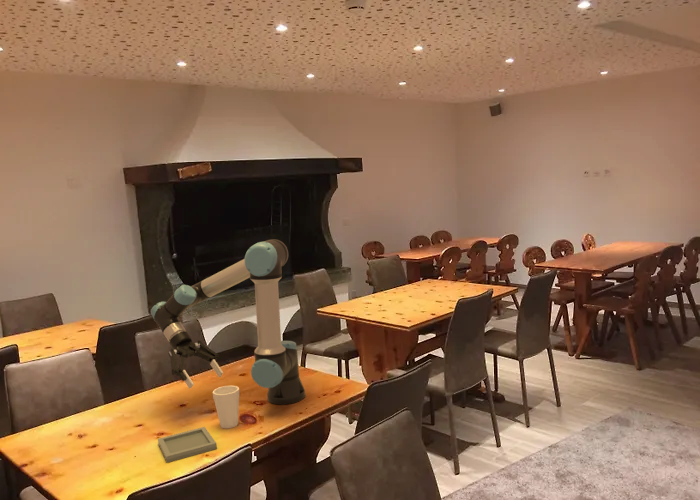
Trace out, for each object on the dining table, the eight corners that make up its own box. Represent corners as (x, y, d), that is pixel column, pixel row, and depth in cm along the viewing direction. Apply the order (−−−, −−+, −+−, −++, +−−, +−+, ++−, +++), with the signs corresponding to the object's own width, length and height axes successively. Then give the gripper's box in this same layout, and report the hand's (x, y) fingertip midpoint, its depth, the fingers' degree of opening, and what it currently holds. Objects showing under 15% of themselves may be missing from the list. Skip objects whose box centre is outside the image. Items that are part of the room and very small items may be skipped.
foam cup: (230, 417, 213) (226, 384, 212) (247, 422, 208) (244, 387, 206) (210, 427, 206) (207, 392, 204) (228, 432, 200) (224, 396, 199)
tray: (205, 432, 202) (204, 426, 201) (216, 448, 188) (216, 443, 187) (158, 444, 194) (157, 438, 194) (166, 462, 180) (166, 456, 180)
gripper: (200, 334, 230) (228, 376, 223) (145, 351, 211) (174, 397, 203) (207, 323, 227) (236, 364, 219) (152, 339, 207) (182, 385, 199)
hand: (206, 380), depth 211 cm, fingers open, 13 cm apart
